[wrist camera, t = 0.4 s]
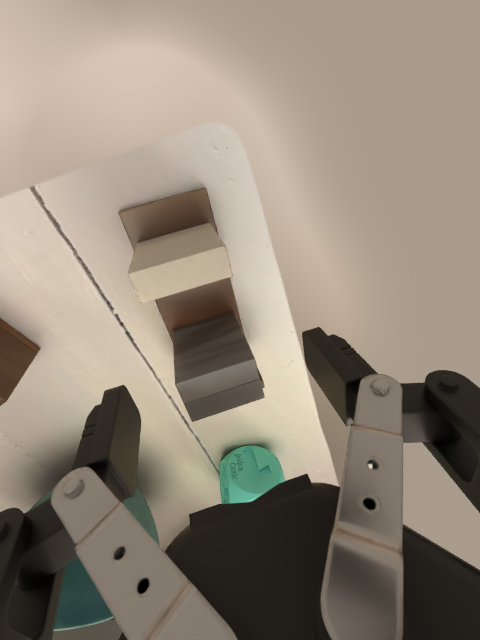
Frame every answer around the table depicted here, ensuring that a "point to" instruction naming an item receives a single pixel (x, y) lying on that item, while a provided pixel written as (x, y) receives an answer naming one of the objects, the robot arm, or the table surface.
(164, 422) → the table surface
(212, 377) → the brown wooden bookend
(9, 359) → the brown wooden book rack
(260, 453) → the decorative dice
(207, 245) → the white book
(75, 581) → the teal bowl
